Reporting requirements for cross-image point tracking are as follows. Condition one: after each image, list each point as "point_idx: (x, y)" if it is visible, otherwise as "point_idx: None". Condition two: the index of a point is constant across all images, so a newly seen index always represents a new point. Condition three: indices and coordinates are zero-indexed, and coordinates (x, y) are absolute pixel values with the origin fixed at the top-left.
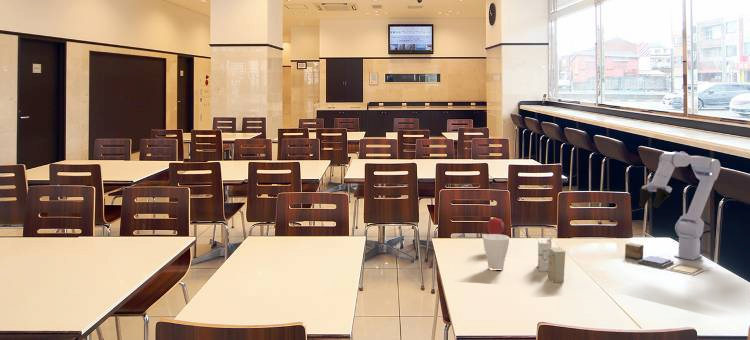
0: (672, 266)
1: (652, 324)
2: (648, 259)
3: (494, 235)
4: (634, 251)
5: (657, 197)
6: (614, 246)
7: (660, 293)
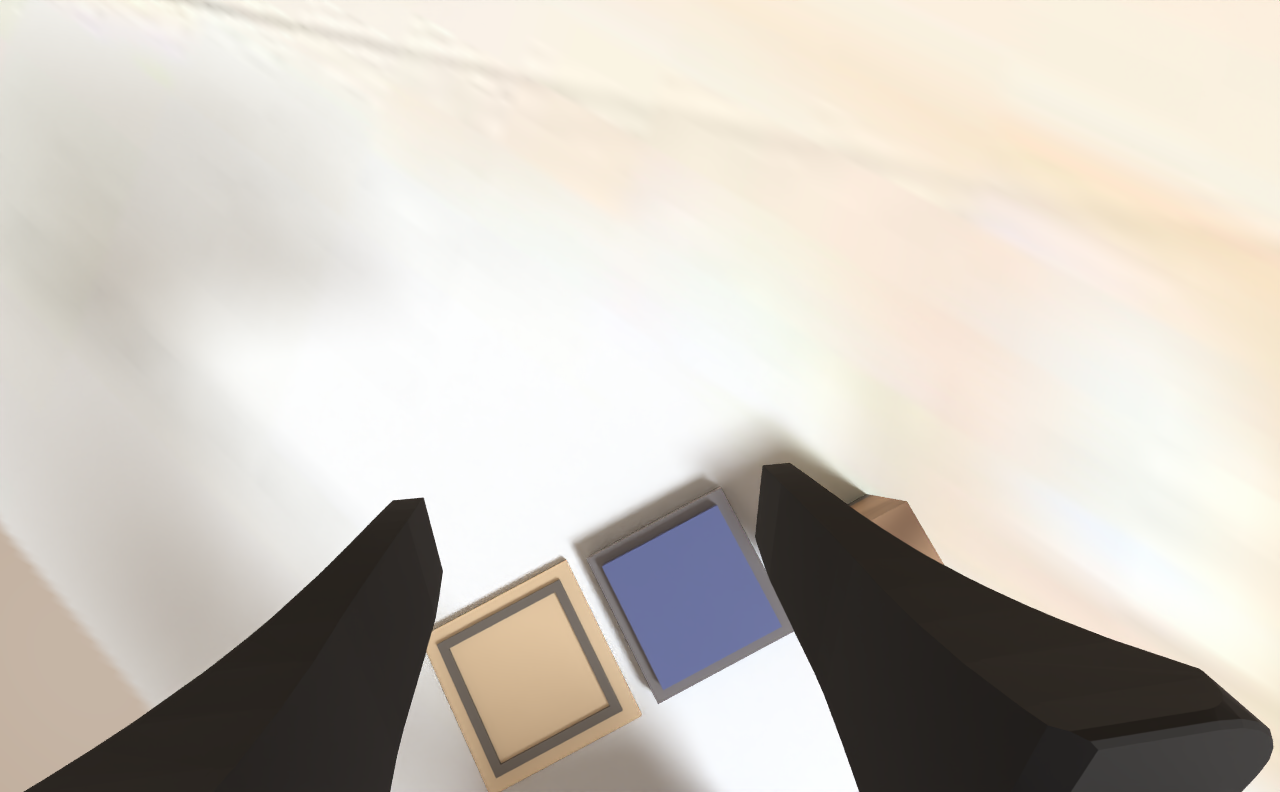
0: (595, 636)
1: None
2: (703, 547)
3: None
4: None
5: (257, 635)
6: (1159, 608)
7: (242, 258)
